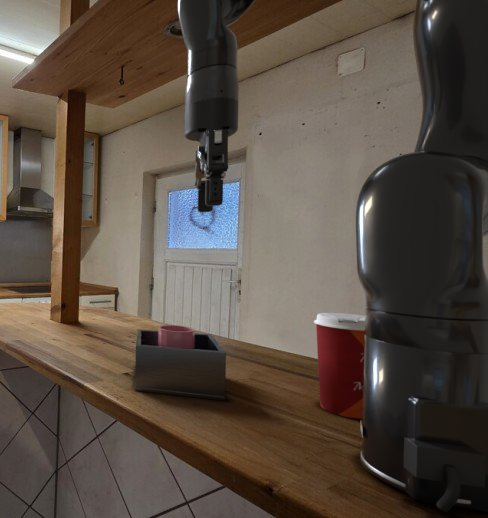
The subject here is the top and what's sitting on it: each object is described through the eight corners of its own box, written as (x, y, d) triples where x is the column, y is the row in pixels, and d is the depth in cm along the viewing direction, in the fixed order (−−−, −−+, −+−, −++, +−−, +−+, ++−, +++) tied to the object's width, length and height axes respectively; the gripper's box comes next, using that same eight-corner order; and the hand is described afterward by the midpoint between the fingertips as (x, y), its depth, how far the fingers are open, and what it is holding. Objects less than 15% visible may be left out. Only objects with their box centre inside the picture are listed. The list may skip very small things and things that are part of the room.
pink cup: (195, 385, 63) (196, 333, 63) (158, 381, 65) (159, 330, 65) (191, 374, 69) (192, 326, 69) (157, 371, 71) (157, 324, 70)
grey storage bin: (225, 400, 58) (226, 352, 58) (135, 390, 62) (135, 345, 62) (210, 373, 71) (211, 334, 71) (136, 366, 75) (137, 329, 75)
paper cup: (383, 427, 50) (386, 323, 49) (311, 412, 54) (314, 316, 54) (375, 408, 56) (378, 315, 56) (311, 395, 61) (313, 310, 60)
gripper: (250, 82, 50) (248, 202, 50) (228, 118, 64) (226, 213, 64) (190, 88, 52) (188, 204, 53) (180, 122, 66) (179, 214, 66)
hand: (209, 209), depth 58 cm, fingers open, 8 cm apart
